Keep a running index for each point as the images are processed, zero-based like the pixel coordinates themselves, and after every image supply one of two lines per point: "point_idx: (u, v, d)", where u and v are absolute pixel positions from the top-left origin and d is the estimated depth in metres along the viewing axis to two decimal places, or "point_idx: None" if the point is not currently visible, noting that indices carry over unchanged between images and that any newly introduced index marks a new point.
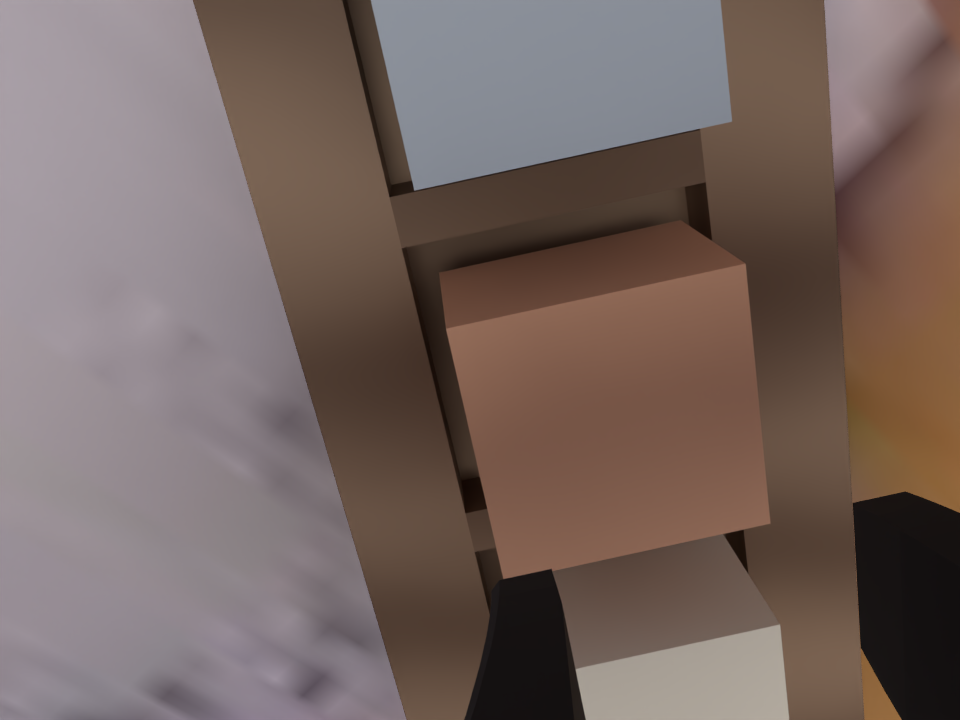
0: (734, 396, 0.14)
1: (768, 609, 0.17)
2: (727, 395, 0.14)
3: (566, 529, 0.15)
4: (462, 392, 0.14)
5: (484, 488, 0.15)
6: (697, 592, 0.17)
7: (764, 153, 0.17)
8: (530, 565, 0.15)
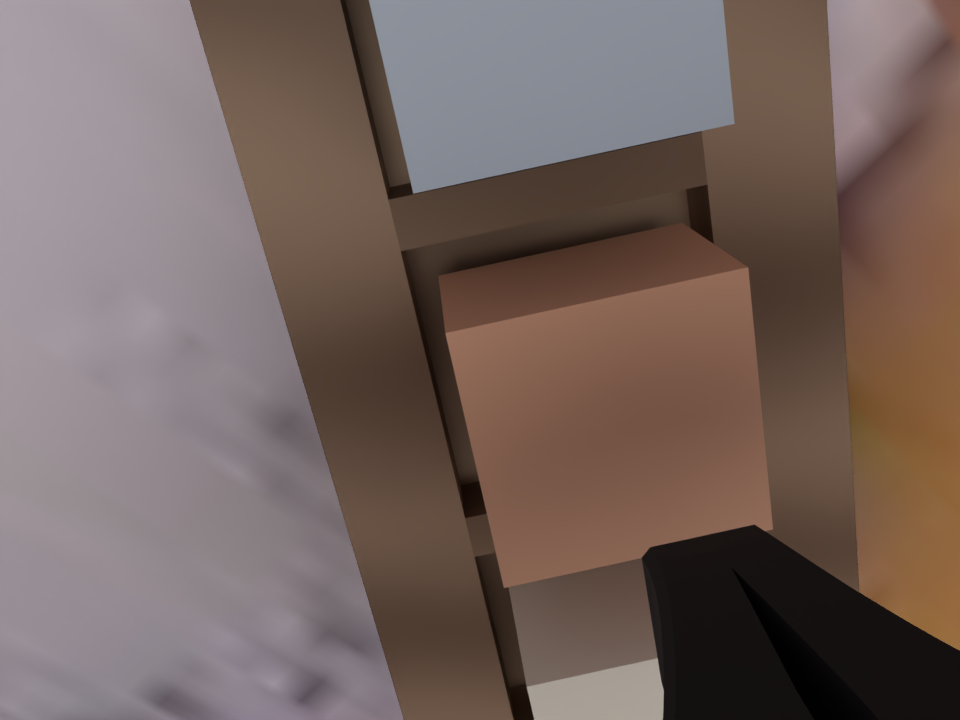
0: (736, 401, 0.14)
1: None
2: (729, 400, 0.14)
3: (567, 535, 0.15)
4: (462, 397, 0.14)
5: (484, 494, 0.15)
6: None
7: (766, 155, 0.17)
8: (530, 571, 0.15)
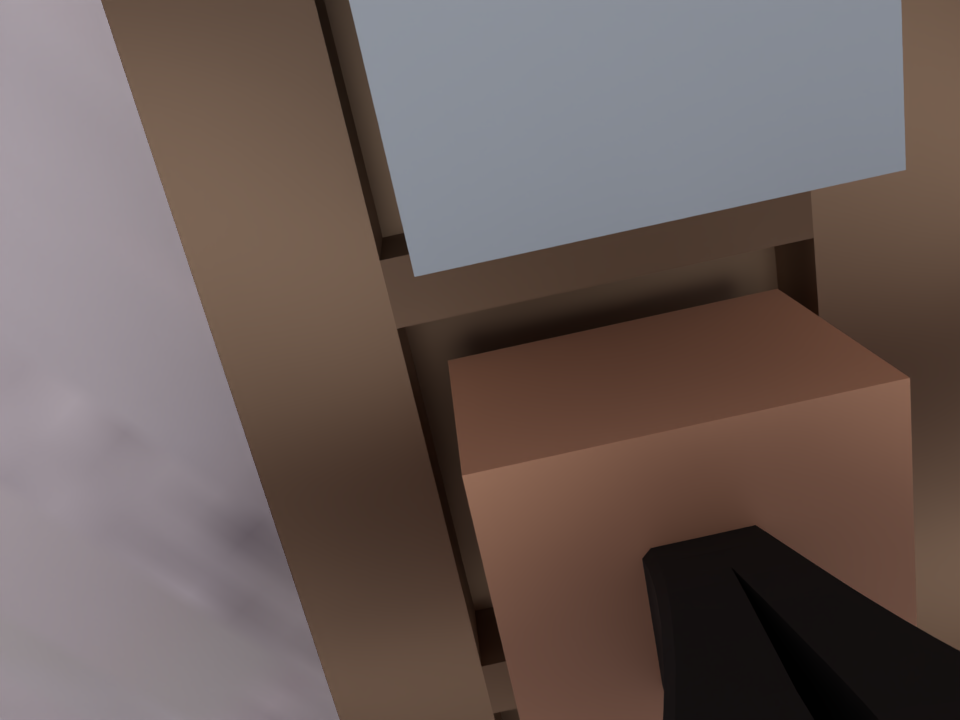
0: (880, 562, 0.10)
1: None
2: (871, 561, 0.10)
3: None
4: (485, 564, 0.09)
5: (515, 691, 0.10)
6: None
7: (895, 198, 0.12)
8: None
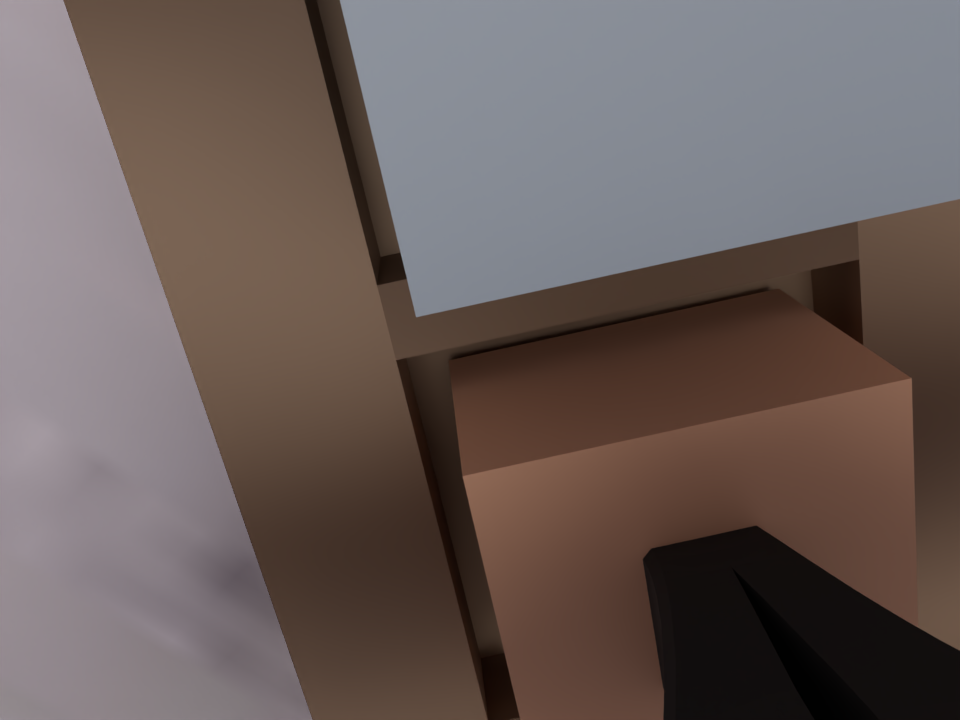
0: (882, 563, 0.10)
1: None
2: (872, 562, 0.10)
3: None
4: (486, 564, 0.09)
5: (516, 692, 0.10)
6: None
7: (950, 216, 0.11)
8: None
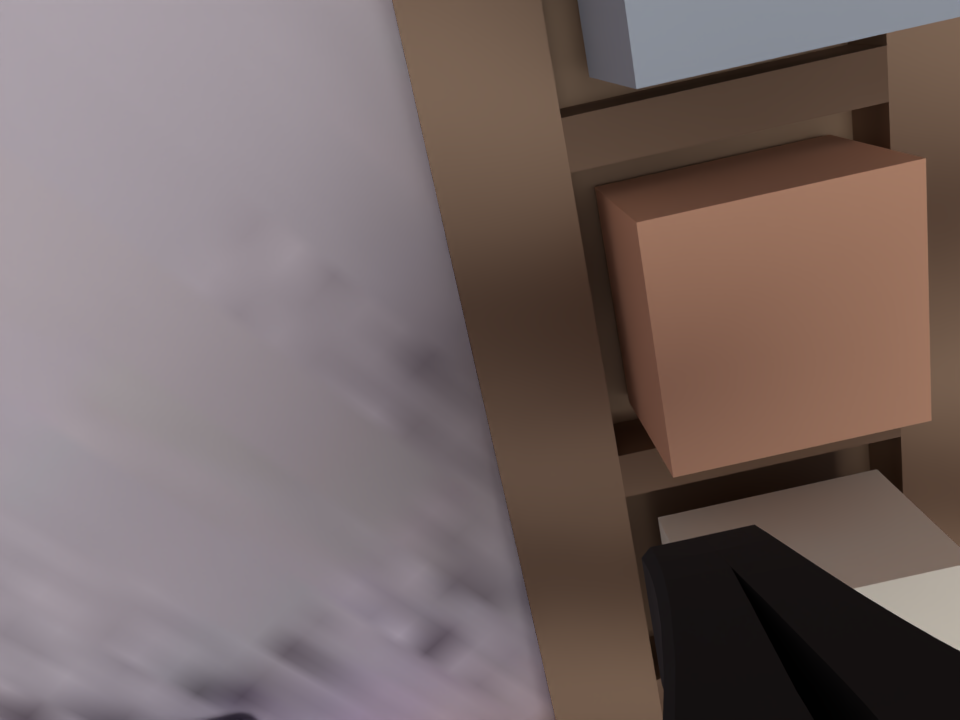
0: (906, 292, 0.15)
1: (957, 547, 0.16)
2: (899, 290, 0.15)
3: (736, 425, 0.16)
4: (647, 286, 0.15)
5: (661, 383, 0.15)
6: (873, 532, 0.17)
7: (951, 71, 0.16)
8: (699, 461, 0.16)
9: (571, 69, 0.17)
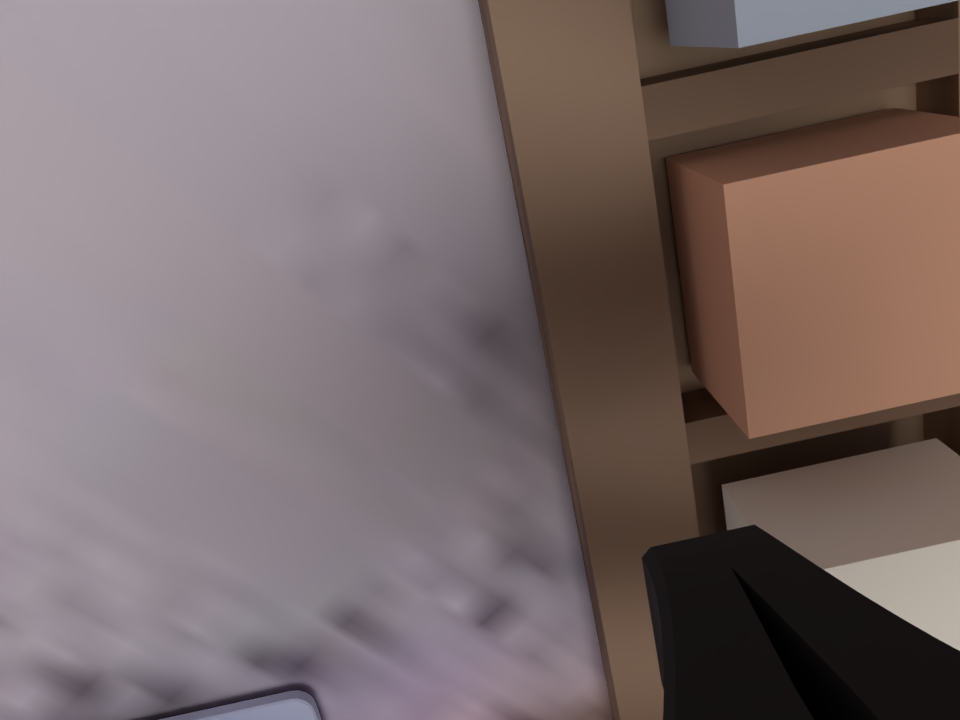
0: None
1: None
2: None
3: (812, 387, 0.16)
4: (731, 248, 0.15)
5: (740, 345, 0.16)
6: (940, 496, 0.17)
7: None
8: (774, 423, 0.16)
9: (645, 41, 0.17)
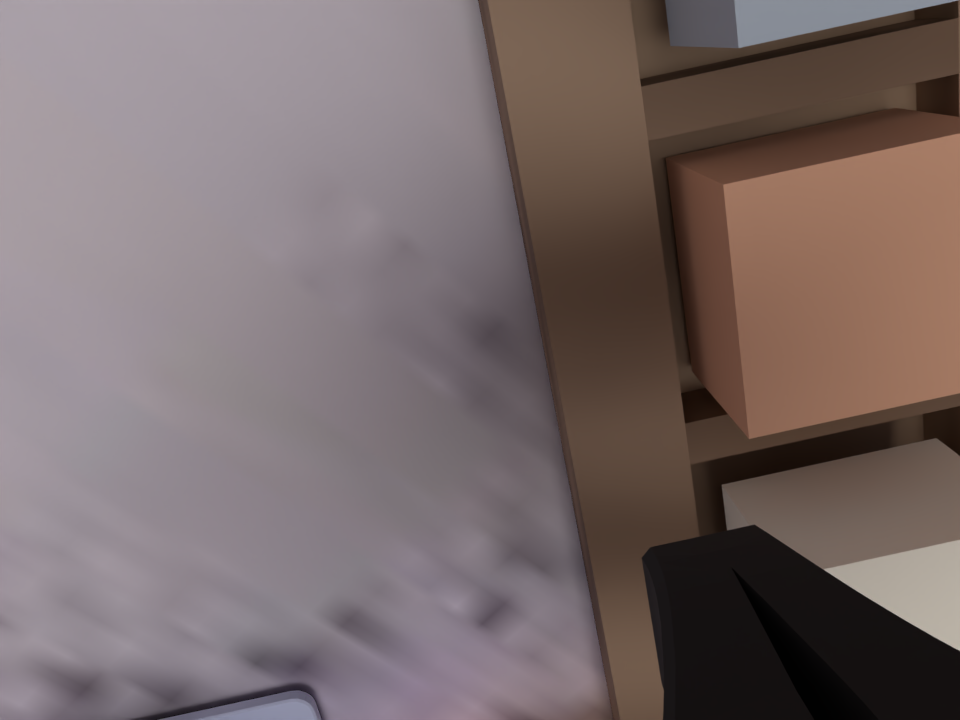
0: None
1: None
2: None
3: (812, 387, 0.16)
4: (731, 248, 0.15)
5: (740, 345, 0.16)
6: (940, 496, 0.17)
7: None
8: (774, 423, 0.16)
9: (645, 41, 0.17)
